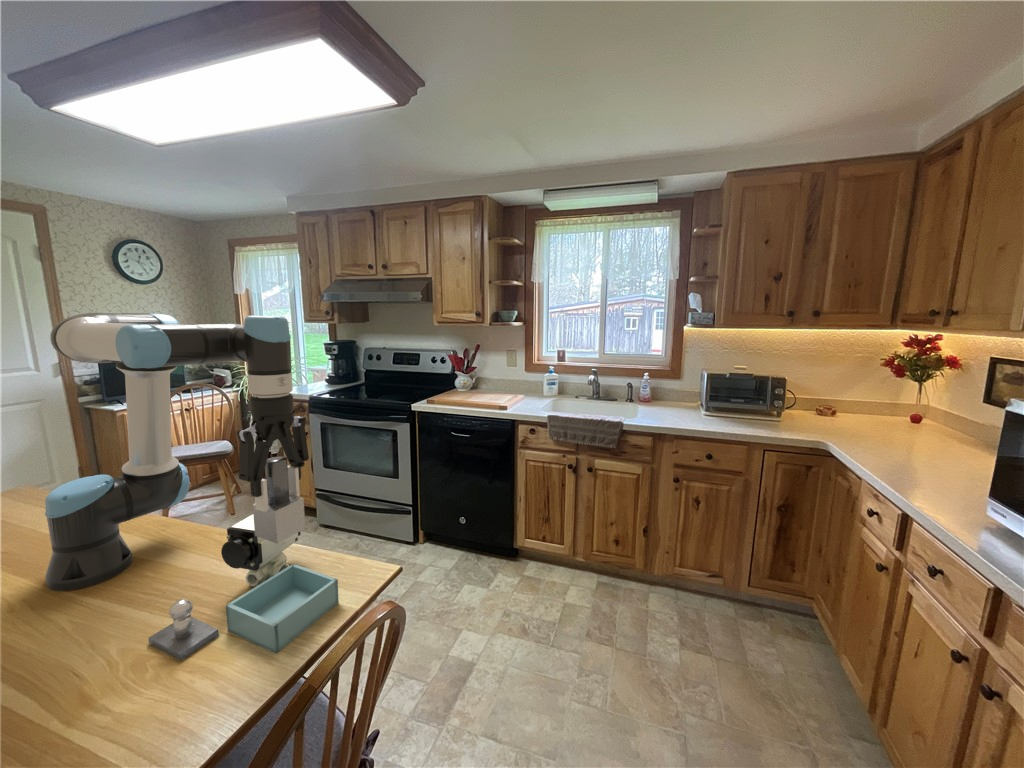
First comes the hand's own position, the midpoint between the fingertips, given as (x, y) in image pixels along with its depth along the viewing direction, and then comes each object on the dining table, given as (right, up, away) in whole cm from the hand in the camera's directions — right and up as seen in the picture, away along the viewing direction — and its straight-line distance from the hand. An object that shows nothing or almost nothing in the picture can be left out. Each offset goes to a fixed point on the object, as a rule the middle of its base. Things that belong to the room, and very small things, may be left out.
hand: (278, 502), depth 86 cm
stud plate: (-17, -27, -3) cm, 32 cm away
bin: (-1, -26, +4) cm, 27 cm away
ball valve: (-12, -24, +18) cm, 32 cm away
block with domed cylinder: (0, -7, +1) cm, 7 cm away
